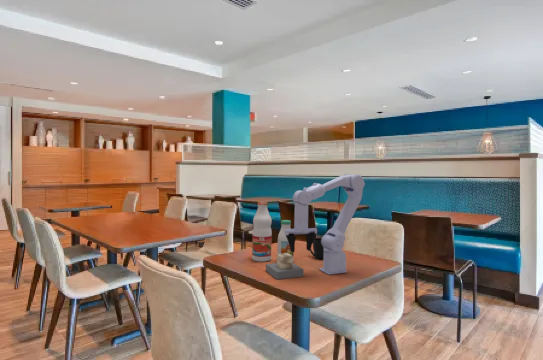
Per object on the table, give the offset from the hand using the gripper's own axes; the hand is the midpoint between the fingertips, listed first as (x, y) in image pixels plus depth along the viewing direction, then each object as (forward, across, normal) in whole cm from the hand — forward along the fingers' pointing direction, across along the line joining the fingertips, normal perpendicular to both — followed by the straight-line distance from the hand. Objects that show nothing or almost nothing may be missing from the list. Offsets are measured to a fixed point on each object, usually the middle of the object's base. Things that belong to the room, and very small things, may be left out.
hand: (300, 251), depth 138 cm
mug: (+10, +21, +21) cm, 31 cm away
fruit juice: (+10, -7, +27) cm, 30 cm away
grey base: (+10, -6, +3) cm, 12 cm away
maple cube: (+7, -6, +3) cm, 10 cm away
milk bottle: (+10, +2, +19) cm, 22 cm away
